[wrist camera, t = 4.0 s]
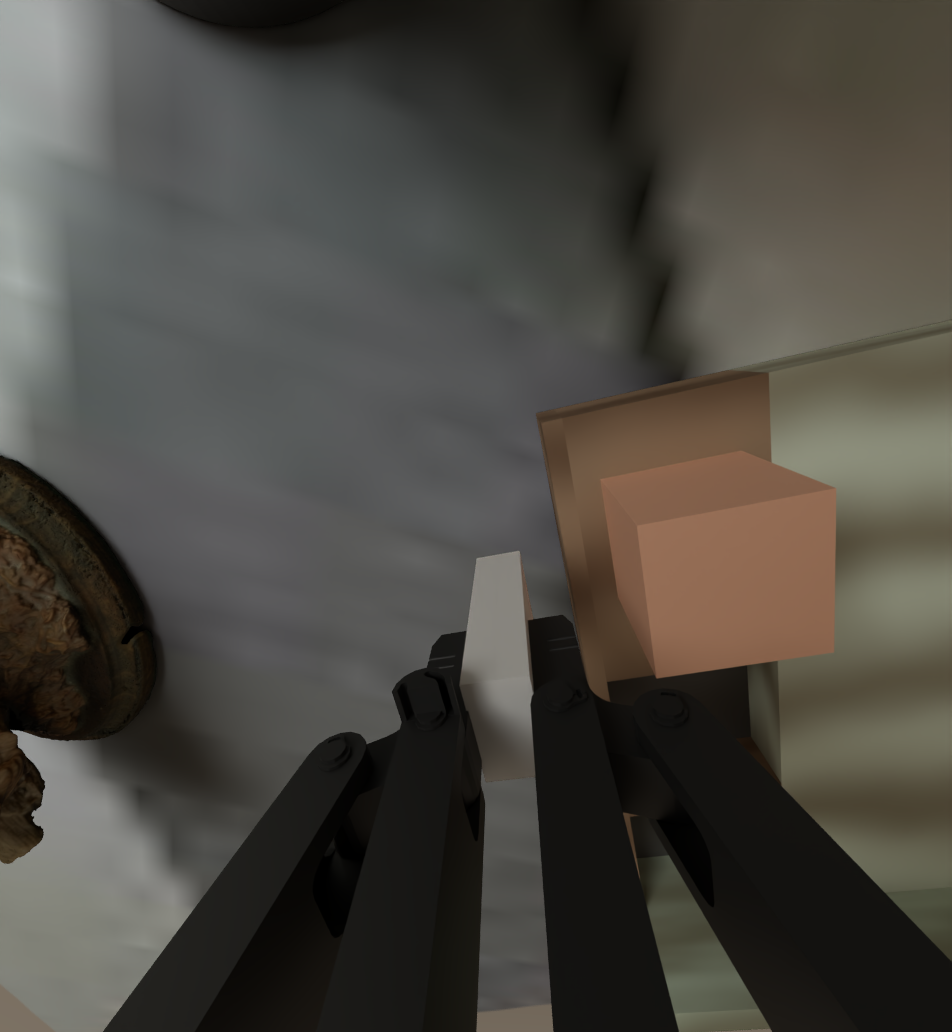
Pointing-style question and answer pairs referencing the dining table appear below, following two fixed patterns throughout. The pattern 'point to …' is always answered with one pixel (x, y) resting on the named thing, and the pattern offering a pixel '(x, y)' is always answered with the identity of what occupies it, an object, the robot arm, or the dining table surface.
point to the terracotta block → (723, 562)
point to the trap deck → (857, 633)
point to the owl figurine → (59, 641)
